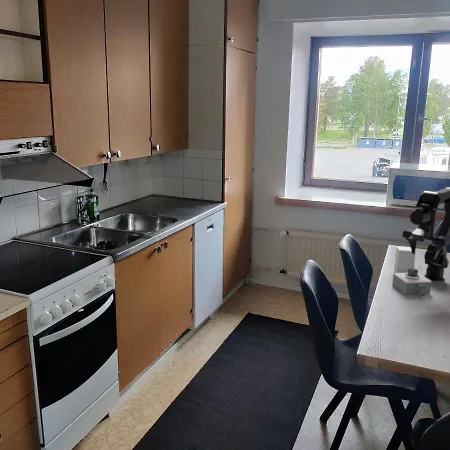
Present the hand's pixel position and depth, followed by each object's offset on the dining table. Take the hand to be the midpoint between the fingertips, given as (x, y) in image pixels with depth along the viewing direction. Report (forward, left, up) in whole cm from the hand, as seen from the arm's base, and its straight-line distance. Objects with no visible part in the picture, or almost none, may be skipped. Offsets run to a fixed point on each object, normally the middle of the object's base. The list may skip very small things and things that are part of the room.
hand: (423, 256), depth 202 cm
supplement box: (+1, -13, -13) cm, 19 cm away
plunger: (+7, +4, -12) cm, 15 cm away
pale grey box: (+7, +6, -13) cm, 16 cm away
